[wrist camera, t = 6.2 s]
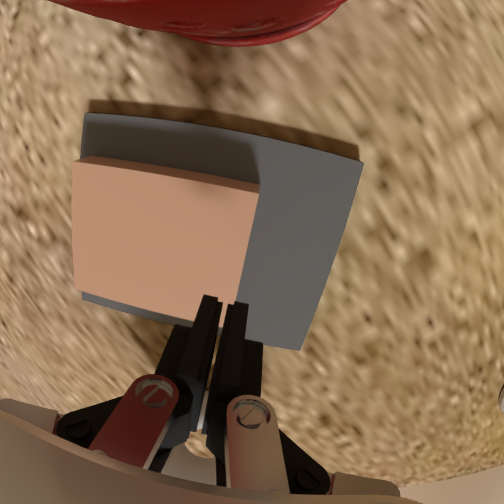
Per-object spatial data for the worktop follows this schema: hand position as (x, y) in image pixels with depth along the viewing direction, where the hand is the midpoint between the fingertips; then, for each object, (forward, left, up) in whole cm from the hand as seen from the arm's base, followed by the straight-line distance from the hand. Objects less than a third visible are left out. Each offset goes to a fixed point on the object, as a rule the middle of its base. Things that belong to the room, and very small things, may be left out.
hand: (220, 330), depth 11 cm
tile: (0, 0, -6) cm, 6 cm away
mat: (+2, 0, -8) cm, 8 cm away
